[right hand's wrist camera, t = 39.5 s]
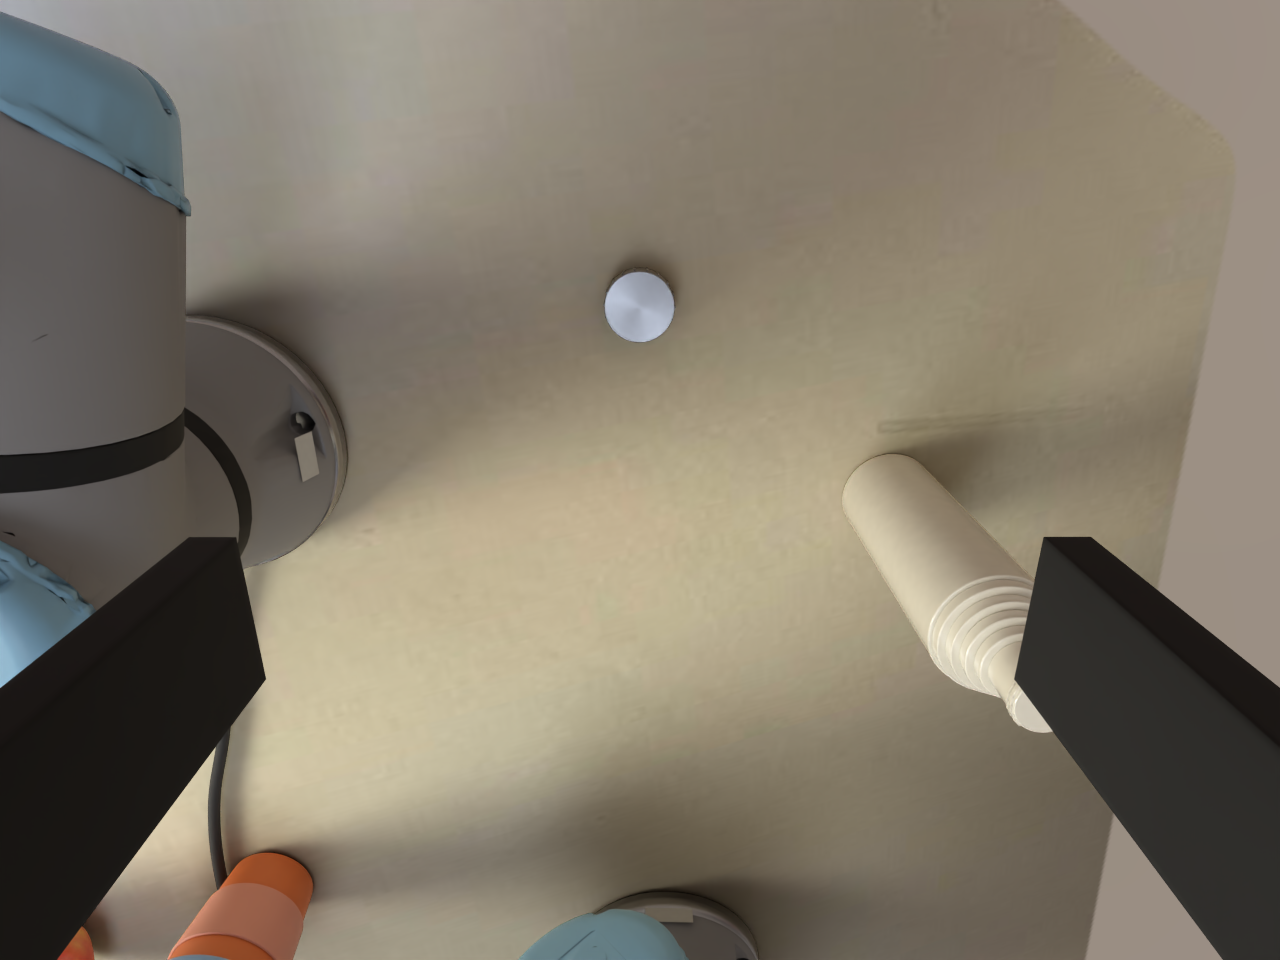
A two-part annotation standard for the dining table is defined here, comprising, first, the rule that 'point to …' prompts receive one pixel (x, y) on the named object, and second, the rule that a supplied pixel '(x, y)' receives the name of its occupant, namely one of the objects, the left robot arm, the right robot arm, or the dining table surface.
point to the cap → (639, 305)
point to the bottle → (945, 577)
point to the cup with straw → (251, 913)
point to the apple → (79, 947)
